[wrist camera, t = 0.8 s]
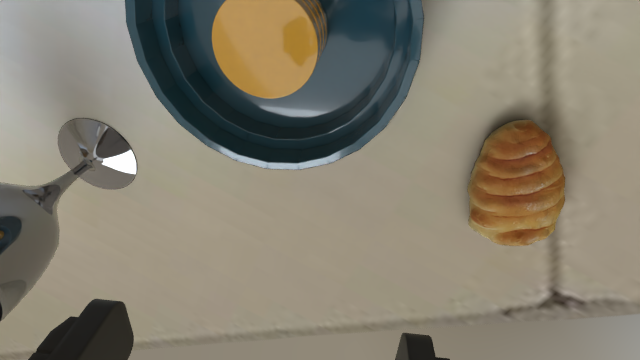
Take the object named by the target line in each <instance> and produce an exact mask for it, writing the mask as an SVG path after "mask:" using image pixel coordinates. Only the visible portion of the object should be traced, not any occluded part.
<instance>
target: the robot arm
mask: <svg viewBox="0 0 640 360" xmlns="http://www.w3.org/2000/svg"><path fill="white" fill-rule="evenodd" d="M133 341H134V336H133V332H132V328H131V324H130V321H129V317H128V314H127V310H126V307H125V304H124V303H123V302H121V301H111V300H102V299H94V300H92V301H91V302H90V303H89V304H88V305H87V306H86V308H85V309H84V310H83V312H82V313H81V314H80V316H79V317H69V318H68V319H67V320H65V321H64V322H63V323H61V324H60V325H59V326H57V327H56V328H55V329H53V330H52V331H51V332H50V333H49V335H48V336H47V337H46V338H45V340H44V341H43V342H42V343H41V344H40V346H39V347H38V348H37V351H36V353H33V354H32V356H31V357H30V358H29V359H28V360H128V358H129V356H130V353H131V350H132V347H133ZM395 360H450V359H447V358H437V357H435V352H434V347H433V342H432V339H431V337H430V336H429V335H419V334H409V333H403V334H402V336H401V339H400V343H399V347H398V351H397V354H396V358H395Z"/></svg>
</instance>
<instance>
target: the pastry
mask: <svg viewBox="0 0 640 360" xmlns="http://www.w3.org/2000/svg"><path fill="white" fill-rule="evenodd" d="M564 187H565V177H564V175H563V168H562V166H561V164H560V161H559V158H558V156H557V154H556V152H555V150H554V148H553V146H552V144H551V138H550V136H549V135H548V134H547V133H545V132H544V131H543V130H541V129H540V128H539V127H538V126H537V125H536V124H535V123H534V122H532V121H530V120H518V121H513V122H509V123H507V124H505V125H503V126H501V127H500V128H498V129H497V130H495V131H494V132H492V133H491V135H490V136H489V137H488V138H487V139H486V140H485V141H484V145H483V148H482V150H481V153H480V156H479V157H478V159H477V160H476V162H475V166H474V168H473V170H472V172H471V179H470V182H469V184H468V193H469V196H470V201H469V209H470V216H469V220H468V224H469V226H470V228H471V229H473V230H474V231H476V232H478V233H480V235H481V236H483V237H486V238H489V239H490V240H491V241H492V242H494V243H497V244H500V245H509V246H524V245H530V244H532V243H534V242H535V241H540V240H543V239H545V238H546V237H547V236H549V235H550V234H551V233H552V232H553V231H554V230H555V223H556V220H557V218H558V216H559V214H560V212H561V209H562V207H563V205H564V202H565V196H564Z"/></svg>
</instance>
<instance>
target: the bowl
mask: <svg viewBox="0 0 640 360" xmlns="http://www.w3.org/2000/svg"><path fill="white" fill-rule="evenodd" d="M224 1H225V0H125V8H126V23H127V27H128V31H129V34H130V38H131V41H132V44H133V48H134V51H135V55H136V58H137V61H138V64H139V65H140V67H141V69H142V71H143V73H144V75H145V77H146V78H147V80H148V82H149V84H150V86H151V88H152V90H153V91H154V93H155V95H156V97H157V98H158V99H159V100H160V102H161V103H162V104H163V105H164V106H165V108H166V109H167V110H168V111H169V112H170V114H171V115H172V116H173V117H174V118H175V120H176V121H177V122H178V123H179V124H180V125H181V126H183V127H184V128H185V129H186V130H188V131H189V132H190V133H191V134H193V135H194V136H195V137H196V138H198V139H199V140H200V141H201V142H203V143H204V144H205V145H207V146H208V147H210V148H212V149H214V150H216V151H218V152H220V153H222V154H224V155H226V156H228V157H230V158H232V159H234V160H236V161H239V162H243V163H247V164H250V165H254V166H258V167H262V168H266V169H267V168H268V169H287V170H301V169H306V168H311V167H316V166H321V165H325V164H330V163H332V162H335V161H337V160H339V159H341V158H343V157H345V156H347V155H349V154H351V153H353V152H355V151H357V150H359V149H361V148H362V147H363V146H364V145H365V144H367V143H368V142H369V141H370V140H371V139H372V138H374V137H375V136H376V135H377V134H378V133H380V132H381V131H382V130H383V129H384V128H385V127H386V126H387V125H388V123H389V122H390V120H391V119H392V117H393V116H394V115H395V113H396V112H397V110H398V109H399V107H400V106H401V105H402V103H403V102H404V100H405V99H406V97H407V94H408V92H409V89H410V86H411V83H412V81H413V78H414V75H415V73H416V70H417V67H418V64H419V60H420V55H421V44H422V34H423V24H424V14H423V7H422V1H421V0H319V1H320V3H321V4H322V6H323V9H324V11H325V14H326V18H327V23H328V37H327V42H326V46H325V48H324V51H323V53H322V55H321V57H320V59H319V61H318V63H317V65H316V67H315V69H314V71H313V73H312V75H311V76H310V78H309V79H308V81H307V82H306V83H305V84H304V85H303V86H302V87H301V88H300V89H299V90H297V91H296V92H294V93H292V94H290V95H288V96H285V97H281V98H272V99H269V98H261V97H256V96H253V95H251V94H248V93H246V92H244V91H243V90H241V89H239V88H238V87H237V86H236V85H234V84H233V83H232V82H231V81H230V80H229V79H228V78H227V77H226V75H225V74H224V73H223V71H222V70H221V68H220V66H219V64H218V62H217V60H216V57H215V54H214V50H213V45H212V27H213V23H214V19H215V16H216V14H217V12H218V10H219V8H220V7H221V5H222V4H223V3H224Z"/></svg>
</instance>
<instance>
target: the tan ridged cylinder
mask: <svg viewBox="0 0 640 360" xmlns="http://www.w3.org/2000/svg"><path fill="white" fill-rule="evenodd" d="M327 37H328V23H327V18H326V14H325V11H324V9H323V6H322V4H321V3H320V1H319V0H225V1H224V3H223V4H222V5H221V7H220V8H219V10H218V12H217V14H216V16H215V19H214V23H213V27H212V45H213V50H214V54H215V57H216V60H217V62H218V64H219V66H220V68H221V70H222V71H223V73H224V74H225V75H226V77H227V78H228V79H229V80H230V81H231V82H232V83H233V84H234V85H236V86H237V87H238V88H239V89H241V90H243V91H244V92H246V93H248V94H251V95H253V96H256V97H261V98H269V99H272V98H281V97H285V96H288V95H290V94H292V93H294V92H296V91H297V90H299V89H300V88H301V87H302V86H303V85H304V84H305V83H306V82H307V81H308V79H309V78H310V76H311V75H312V73H313V71H314V69H315V67H316V65H317V63H318V61H319V59H320V57H321V55H322V53H323V51H324V48H325V46H326V42H327Z"/></svg>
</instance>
